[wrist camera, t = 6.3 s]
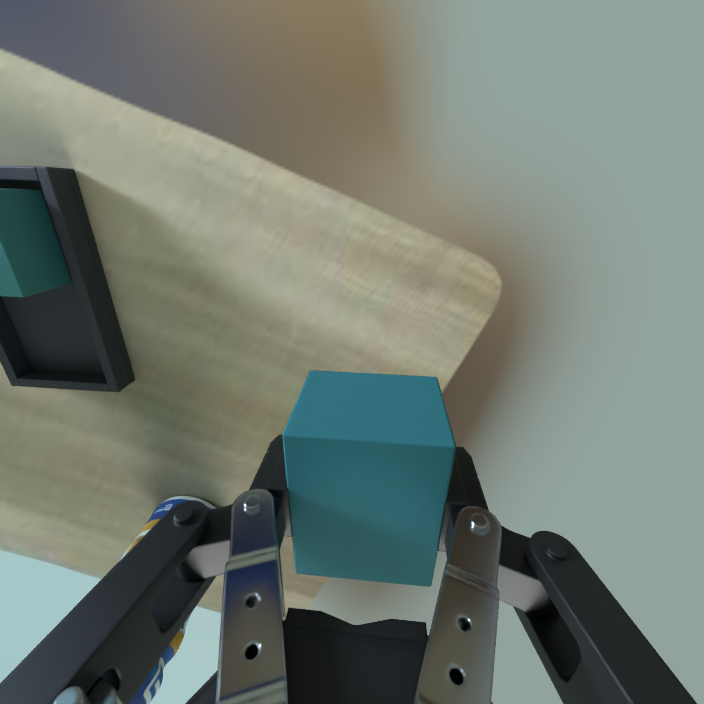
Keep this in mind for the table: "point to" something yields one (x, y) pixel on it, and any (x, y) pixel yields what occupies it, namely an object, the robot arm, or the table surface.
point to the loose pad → (368, 476)
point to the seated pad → (28, 245)
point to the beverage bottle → (155, 677)
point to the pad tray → (63, 303)
